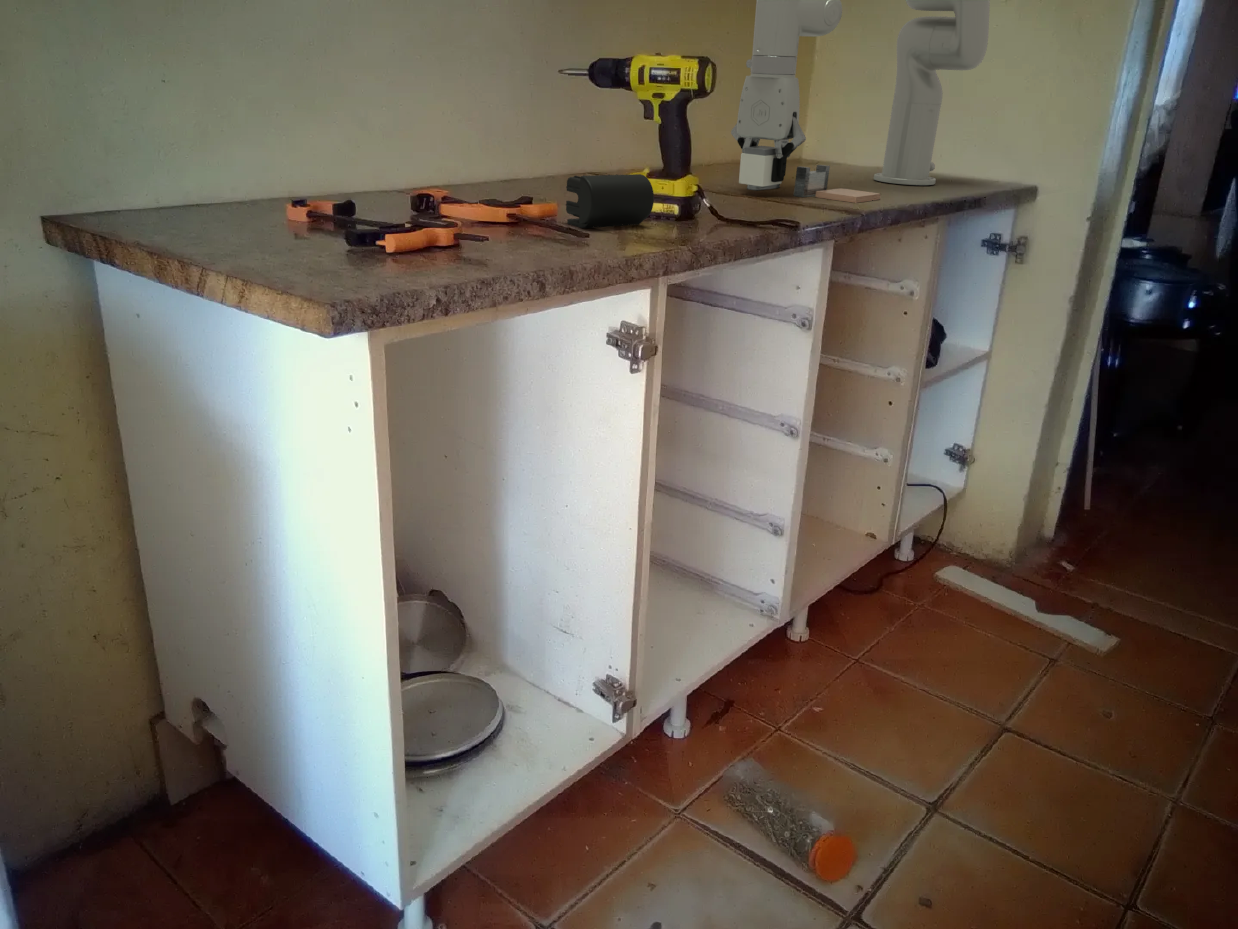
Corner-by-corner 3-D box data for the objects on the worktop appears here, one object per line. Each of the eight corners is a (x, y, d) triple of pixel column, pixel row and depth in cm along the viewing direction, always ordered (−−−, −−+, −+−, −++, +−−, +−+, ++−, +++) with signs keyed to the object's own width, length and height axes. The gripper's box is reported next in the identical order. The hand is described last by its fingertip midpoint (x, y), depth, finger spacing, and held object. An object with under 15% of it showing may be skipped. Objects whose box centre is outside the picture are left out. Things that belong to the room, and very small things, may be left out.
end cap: (591, 232, 123) (593, 178, 120) (562, 223, 128) (564, 172, 125) (652, 228, 128) (656, 176, 126) (623, 220, 133) (625, 170, 131)
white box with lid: (757, 180, 170) (760, 145, 167) (781, 183, 167) (785, 147, 164) (738, 183, 166) (741, 147, 163) (762, 186, 163) (765, 149, 160)
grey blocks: (770, 186, 180) (773, 158, 178) (826, 194, 173) (829, 165, 171) (746, 188, 174) (749, 160, 172) (803, 197, 167) (806, 167, 165)
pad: (840, 193, 175) (841, 188, 174) (879, 199, 170) (880, 193, 170) (815, 196, 168) (816, 191, 168) (855, 202, 164) (856, 196, 163)
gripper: (719, 65, 162) (711, 175, 169) (805, 70, 152) (793, 187, 159) (744, 65, 167) (736, 172, 174) (829, 70, 157) (816, 183, 164)
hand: (763, 178), depth 167 cm, fingers closed on white box with lid, 5 cm apart
